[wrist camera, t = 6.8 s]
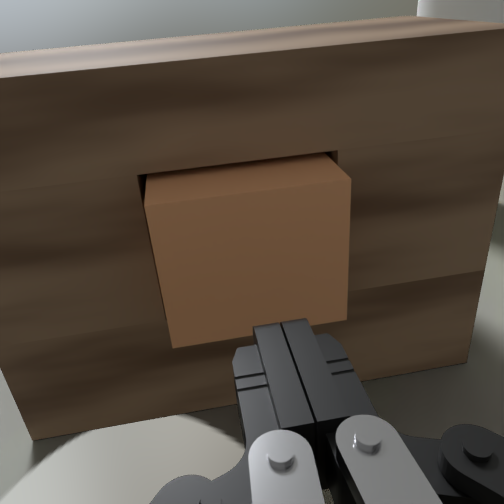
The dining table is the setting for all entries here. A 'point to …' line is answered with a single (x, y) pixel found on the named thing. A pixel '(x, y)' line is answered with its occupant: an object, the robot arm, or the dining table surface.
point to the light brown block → (250, 245)
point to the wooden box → (232, 151)
